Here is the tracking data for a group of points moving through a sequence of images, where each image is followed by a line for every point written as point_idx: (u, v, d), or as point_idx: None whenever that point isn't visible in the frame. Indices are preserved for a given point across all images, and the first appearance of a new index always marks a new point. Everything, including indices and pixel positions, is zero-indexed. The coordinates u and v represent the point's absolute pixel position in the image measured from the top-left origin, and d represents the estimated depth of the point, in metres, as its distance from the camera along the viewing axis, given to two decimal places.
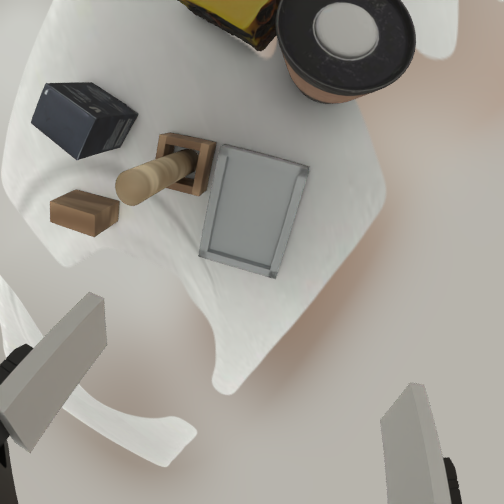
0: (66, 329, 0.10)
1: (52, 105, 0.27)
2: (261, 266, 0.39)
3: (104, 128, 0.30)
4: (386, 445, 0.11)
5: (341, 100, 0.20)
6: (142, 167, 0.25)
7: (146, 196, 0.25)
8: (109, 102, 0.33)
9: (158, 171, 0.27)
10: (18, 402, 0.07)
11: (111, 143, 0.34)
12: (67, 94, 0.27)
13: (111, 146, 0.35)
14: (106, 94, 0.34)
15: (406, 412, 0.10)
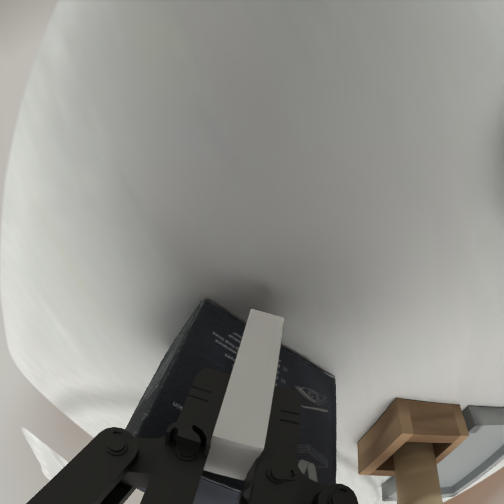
0: (252, 347, 0.11)
1: None
2: (445, 492, 0.21)
3: None
4: None
5: None
6: None
7: None
8: (290, 388, 0.15)
9: None
10: None
11: None
12: None
13: None
14: None
15: None
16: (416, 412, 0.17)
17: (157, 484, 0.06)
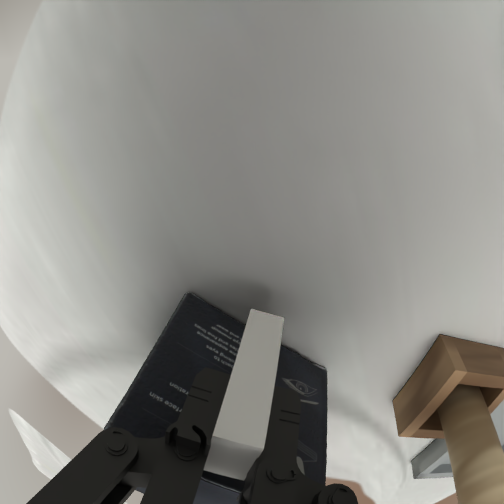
0: (253, 347, 0.11)
1: None
2: None
3: None
4: None
5: None
6: None
7: None
8: (277, 380, 0.15)
9: None
10: None
11: None
12: None
13: None
14: None
15: None
16: (464, 350, 0.14)
17: (157, 484, 0.06)
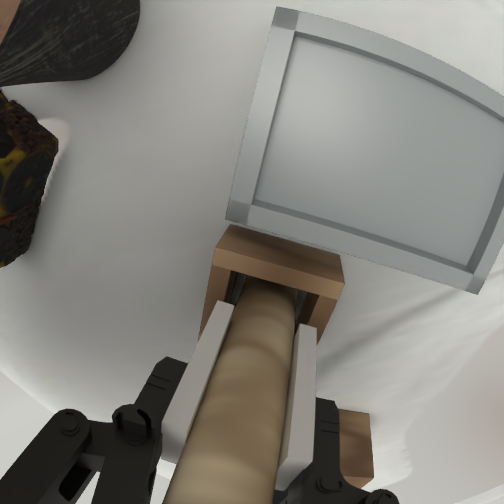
0: (214, 338, 0.11)
1: None
2: None
3: None
4: None
5: None
6: (169, 485, 0.07)
7: None
8: None
9: (199, 438, 0.08)
10: (192, 416, 0.08)
11: None
12: None
13: None
14: None
15: (293, 351, 0.13)
16: None
17: (109, 470, 0.06)
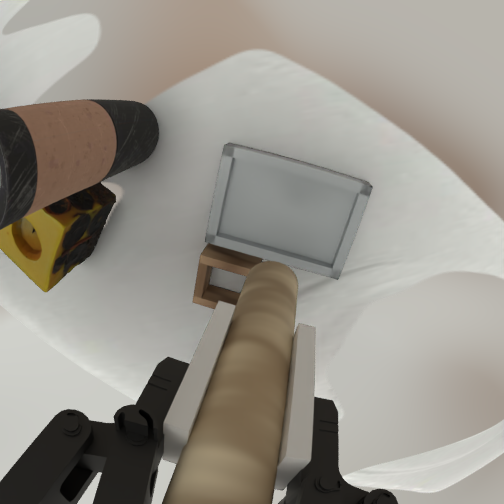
0: (215, 338, 0.11)
1: None
2: (355, 203, 0.29)
3: None
4: None
5: (84, 140, 0.19)
6: (172, 476, 0.07)
7: None
8: None
9: (202, 429, 0.08)
10: (194, 417, 0.08)
11: None
12: None
13: None
14: None
15: (292, 351, 0.13)
16: None
17: (111, 470, 0.06)
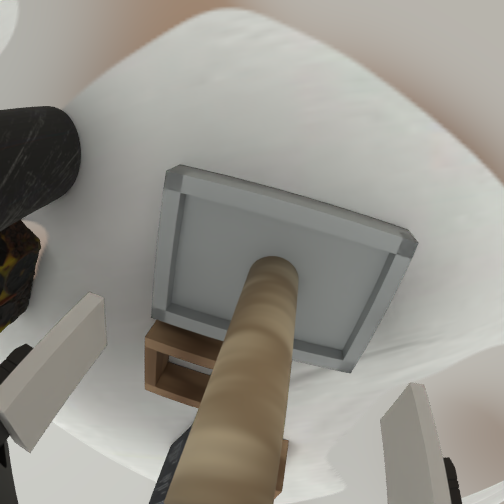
0: (66, 329, 0.10)
1: None
2: (387, 269, 0.17)
3: None
4: (386, 445, 0.11)
5: None
6: (180, 459, 0.08)
7: (246, 497, 0.06)
8: (182, 448, 0.27)
9: (209, 413, 0.09)
10: (18, 402, 0.07)
11: None
12: (158, 497, 0.23)
13: None
14: (179, 441, 0.29)
15: (406, 412, 0.10)
16: None
17: None
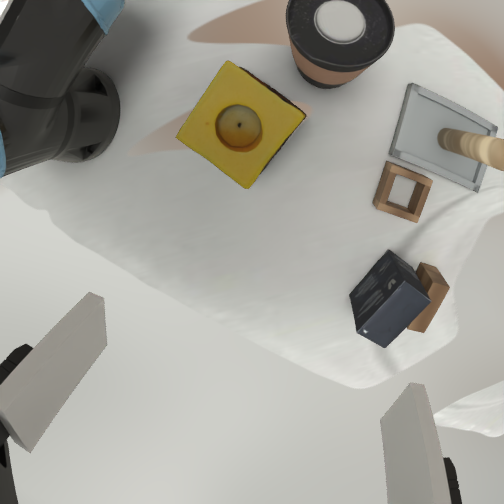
0: (66, 329, 0.10)
1: (379, 325, 0.37)
2: None
3: (407, 276, 0.37)
4: (386, 445, 0.11)
5: None
6: (484, 145, 0.23)
7: None
8: (377, 274, 0.42)
9: (482, 136, 0.24)
10: (18, 402, 0.07)
11: (413, 273, 0.40)
12: (373, 310, 0.38)
13: (414, 273, 0.41)
14: (366, 279, 0.44)
15: (406, 412, 0.10)
16: (377, 194, 0.39)
17: None
